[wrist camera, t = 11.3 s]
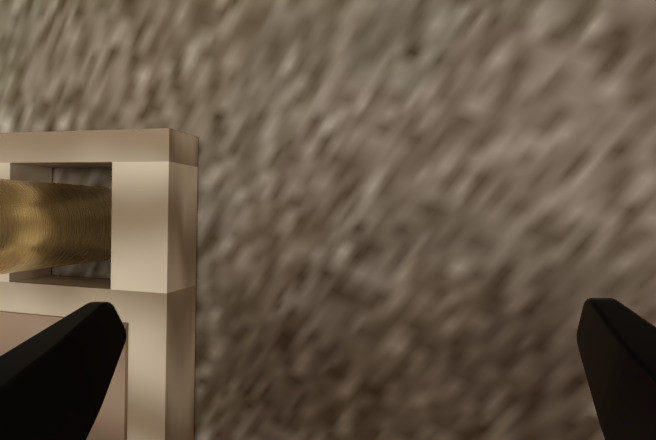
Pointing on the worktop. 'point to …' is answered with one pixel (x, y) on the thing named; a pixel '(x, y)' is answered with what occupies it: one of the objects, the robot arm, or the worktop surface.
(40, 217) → the cylinder
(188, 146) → the jig plate
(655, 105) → the worktop surface
